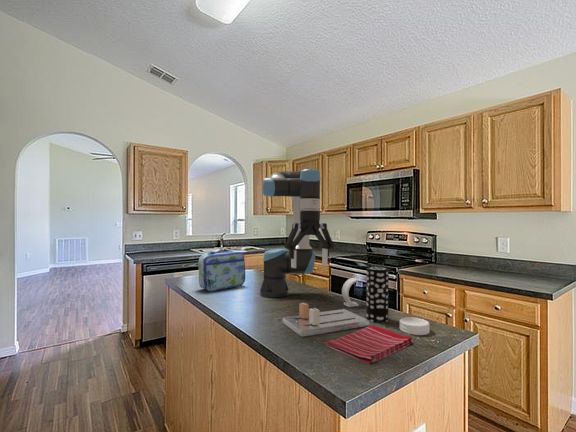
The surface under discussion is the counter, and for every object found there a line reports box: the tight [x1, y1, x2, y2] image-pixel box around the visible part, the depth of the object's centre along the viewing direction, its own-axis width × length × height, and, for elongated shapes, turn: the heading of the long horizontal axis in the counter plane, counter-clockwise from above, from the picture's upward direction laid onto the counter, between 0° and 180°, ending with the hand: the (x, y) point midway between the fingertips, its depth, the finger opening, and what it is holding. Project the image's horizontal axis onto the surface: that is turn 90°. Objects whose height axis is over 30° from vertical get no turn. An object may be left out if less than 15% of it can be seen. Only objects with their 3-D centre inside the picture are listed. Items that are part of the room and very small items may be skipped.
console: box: [282, 308, 370, 338], centre depth 119 cm, size 16×28×2 cm, turn 114°
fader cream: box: [309, 307, 320, 325], centre depth 112 cm, size 3×2×5 cm
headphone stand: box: [341, 277, 359, 308], centre depth 145 cm, size 5×6×12 cm
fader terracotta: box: [298, 302, 310, 319], centre depth 120 cm, size 3×2×5 cm
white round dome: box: [399, 316, 431, 336], centre depth 113 cm, size 10×10×4 cm
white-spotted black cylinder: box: [365, 266, 390, 324], centre depth 125 cm, size 8×8×20 cm
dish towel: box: [324, 324, 413, 365], centre depth 100 cm, size 17×24×3 cm
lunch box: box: [197, 250, 246, 293], centre depth 178 cm, size 26×11×21 cm, turn 130°
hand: (309, 266), depth 120 cm, fingers open, 13 cm apart
